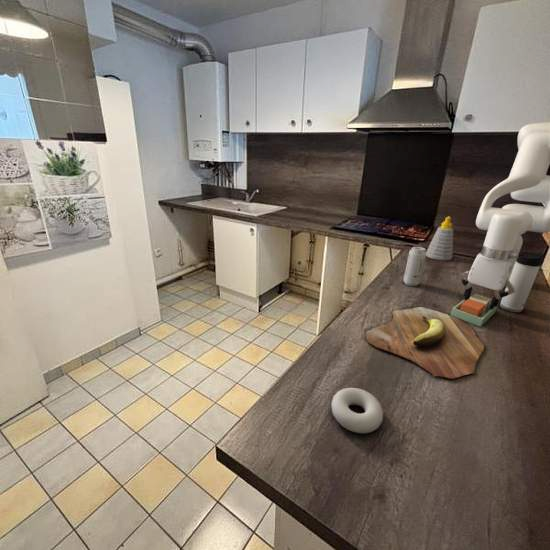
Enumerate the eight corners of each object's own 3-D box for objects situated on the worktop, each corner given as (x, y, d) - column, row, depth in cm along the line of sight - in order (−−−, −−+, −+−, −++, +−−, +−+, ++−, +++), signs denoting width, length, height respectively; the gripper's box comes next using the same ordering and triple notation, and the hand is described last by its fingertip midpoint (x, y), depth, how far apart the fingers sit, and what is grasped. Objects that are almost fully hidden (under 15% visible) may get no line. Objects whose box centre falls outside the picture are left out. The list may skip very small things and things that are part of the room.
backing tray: (466, 302, 104) (468, 295, 103) (495, 312, 98) (497, 305, 97) (450, 315, 96) (452, 308, 95) (480, 326, 90) (483, 319, 89)
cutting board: (465, 393, 64) (470, 380, 63) (354, 341, 81) (356, 330, 80) (493, 330, 88) (497, 319, 86) (402, 300, 105) (404, 290, 103)
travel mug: (527, 313, 98) (550, 257, 90) (505, 311, 99) (526, 255, 91) (516, 305, 103) (537, 251, 95) (496, 303, 104) (515, 249, 97)
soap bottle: (452, 255, 153) (463, 217, 145) (451, 262, 143) (462, 221, 135) (426, 251, 159) (435, 214, 151) (423, 257, 149) (433, 218, 141)
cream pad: (471, 303, 102) (475, 293, 101) (488, 309, 99) (491, 299, 97) (465, 308, 99) (469, 298, 97) (482, 314, 95) (486, 303, 94)
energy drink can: (414, 287, 115) (423, 251, 109) (400, 283, 119) (407, 248, 113) (421, 283, 118) (429, 248, 113) (407, 279, 123) (414, 245, 117)
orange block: (464, 309, 98) (468, 298, 97) (481, 315, 95) (485, 304, 93) (458, 314, 95) (461, 303, 93) (475, 321, 92) (479, 309, 90)
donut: (369, 395, 63) (325, 397, 62) (372, 383, 62) (326, 384, 61) (390, 436, 54) (338, 439, 53) (394, 423, 53) (340, 425, 52)
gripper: (533, 258, 87) (513, 310, 94) (469, 244, 99) (455, 291, 106) (527, 263, 83) (506, 317, 90) (460, 248, 95) (447, 297, 102)
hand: (479, 302), depth 98 cm, fingers open, 6 cm apart
